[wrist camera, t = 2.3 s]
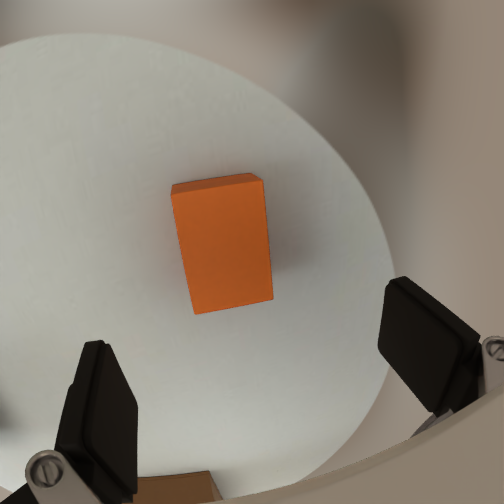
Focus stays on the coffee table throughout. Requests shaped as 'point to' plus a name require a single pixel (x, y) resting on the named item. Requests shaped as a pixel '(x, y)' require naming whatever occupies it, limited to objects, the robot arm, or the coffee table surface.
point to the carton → (177, 489)
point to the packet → (224, 241)
